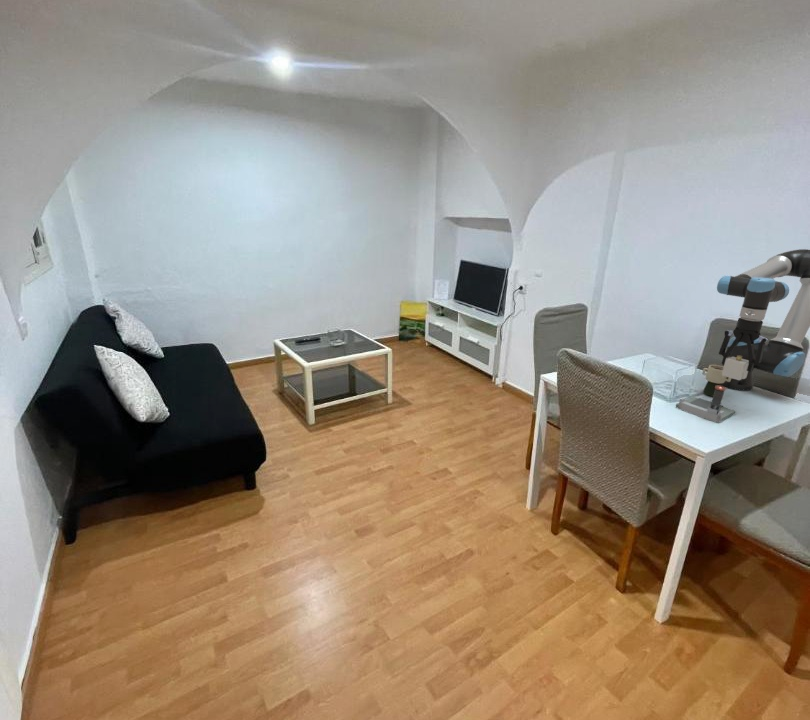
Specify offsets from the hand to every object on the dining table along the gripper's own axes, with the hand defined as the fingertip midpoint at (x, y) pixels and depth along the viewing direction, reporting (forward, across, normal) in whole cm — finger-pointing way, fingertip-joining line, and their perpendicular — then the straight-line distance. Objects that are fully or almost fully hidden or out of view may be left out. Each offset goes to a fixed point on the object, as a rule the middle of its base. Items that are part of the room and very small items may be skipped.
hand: (733, 375), depth 171 cm
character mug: (+15, -9, +13) cm, 22 cm away
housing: (0, 0, 0) cm, 0 cm away
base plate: (+15, -4, -7) cm, 17 cm away
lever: (+12, +1, -14) cm, 18 cm away
